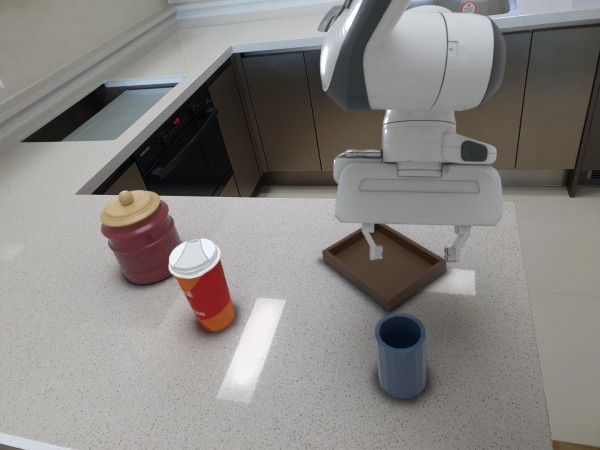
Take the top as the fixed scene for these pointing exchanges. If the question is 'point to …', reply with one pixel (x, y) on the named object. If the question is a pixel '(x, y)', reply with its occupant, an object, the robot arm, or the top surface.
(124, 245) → the kitchen canister
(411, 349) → the tumbler
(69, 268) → the top surface
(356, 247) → the tray
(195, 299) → the coffee cup
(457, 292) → the top surface
